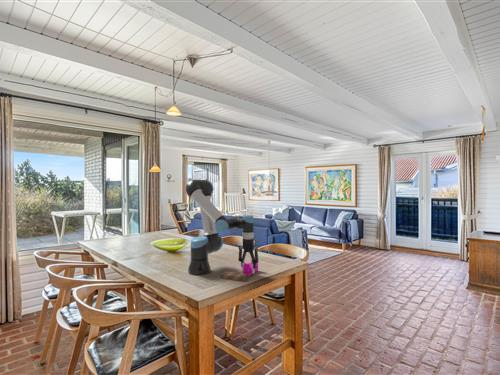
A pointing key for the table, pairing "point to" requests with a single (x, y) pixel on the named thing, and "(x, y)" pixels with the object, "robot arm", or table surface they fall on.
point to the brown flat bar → (234, 276)
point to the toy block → (249, 268)
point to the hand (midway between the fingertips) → (248, 272)
